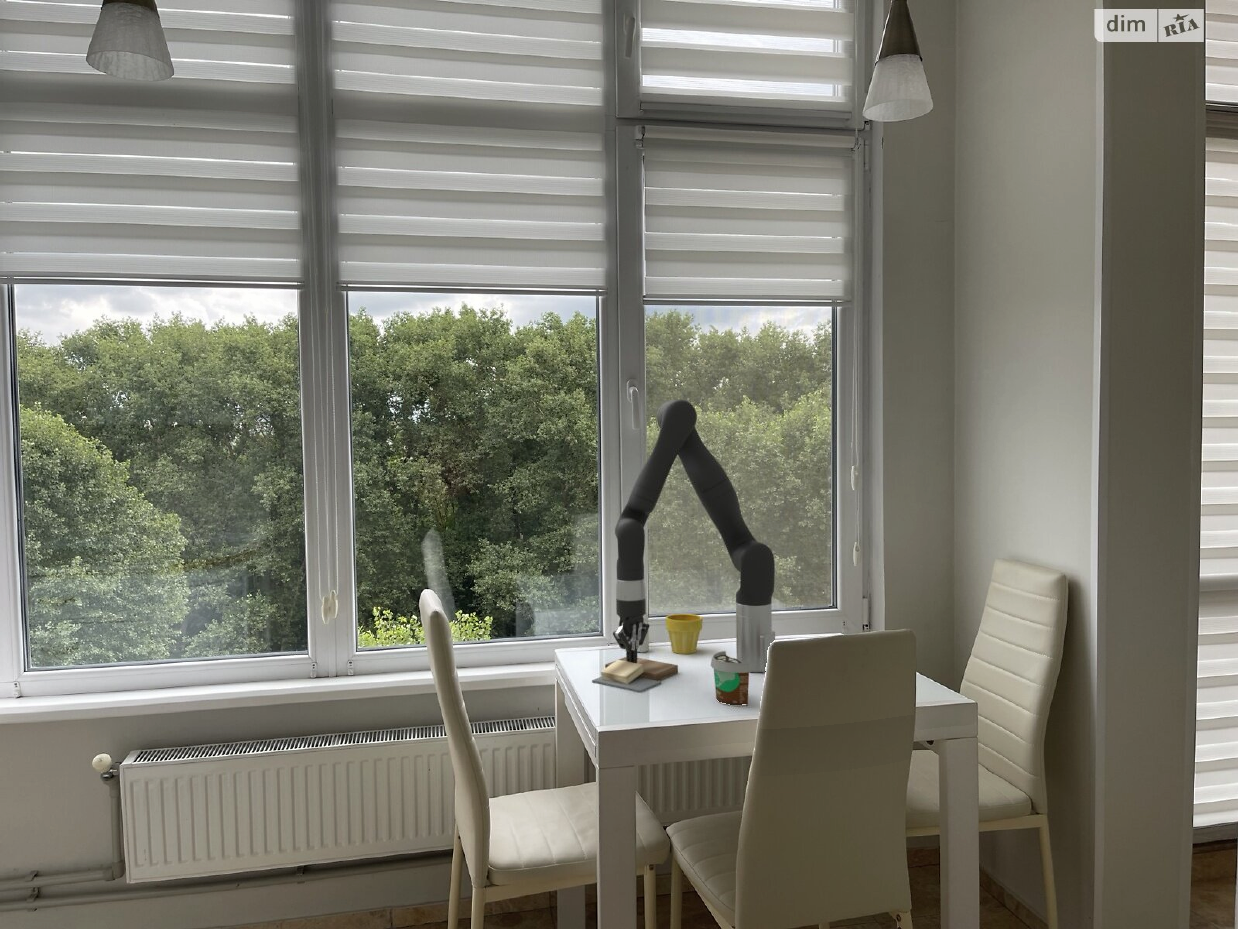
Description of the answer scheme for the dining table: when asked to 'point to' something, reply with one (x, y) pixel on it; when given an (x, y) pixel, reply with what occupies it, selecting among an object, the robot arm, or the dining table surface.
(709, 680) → the dining table surface
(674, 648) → the plant pot
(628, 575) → the robot arm
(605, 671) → the cream flat block
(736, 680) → the food container
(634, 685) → the mat
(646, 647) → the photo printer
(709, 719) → the dining table surface
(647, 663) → the brown wooden block
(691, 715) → the dining table surface
